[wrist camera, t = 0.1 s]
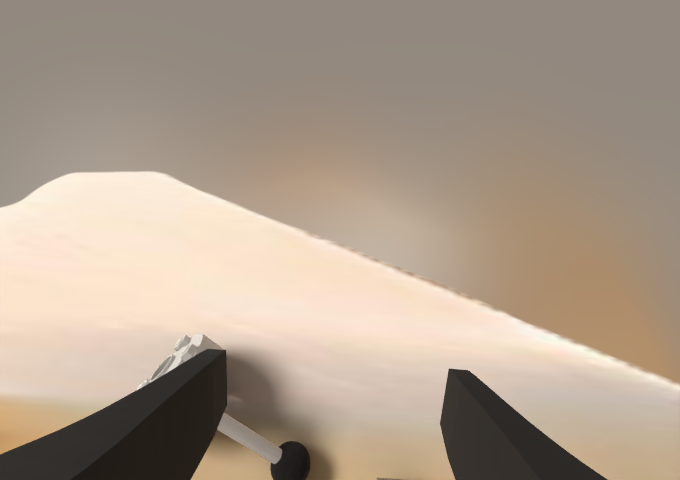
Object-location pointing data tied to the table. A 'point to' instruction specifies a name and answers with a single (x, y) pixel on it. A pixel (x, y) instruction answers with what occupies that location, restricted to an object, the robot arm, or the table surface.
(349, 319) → the table surface
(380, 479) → the valve pipe
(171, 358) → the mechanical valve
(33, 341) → the table surface
